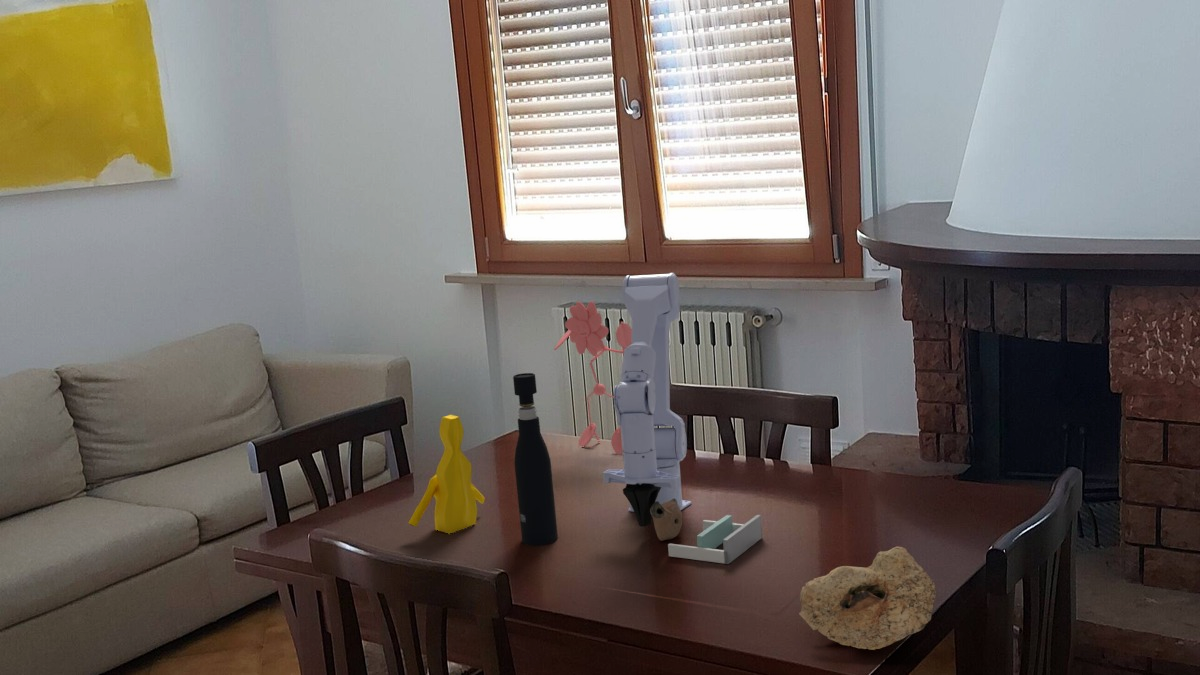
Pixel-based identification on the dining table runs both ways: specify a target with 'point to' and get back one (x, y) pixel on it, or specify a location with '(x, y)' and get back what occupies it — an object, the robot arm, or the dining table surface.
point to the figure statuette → (451, 484)
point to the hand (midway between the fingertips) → (645, 524)
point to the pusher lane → (732, 544)
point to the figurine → (594, 354)
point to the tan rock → (870, 601)
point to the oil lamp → (666, 519)
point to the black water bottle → (533, 470)
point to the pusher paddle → (715, 533)
